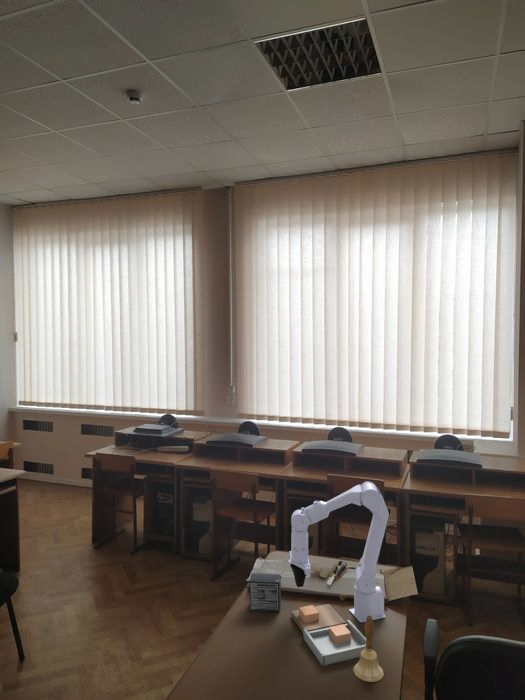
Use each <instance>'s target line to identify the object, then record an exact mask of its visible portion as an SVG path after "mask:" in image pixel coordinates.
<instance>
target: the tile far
mask: <svg viewBox="0 0 525 700" xmlns="http://www.w3.org/2000/svg"><path fill="white" fill-rule="evenodd" d="M298 610H299V616H300V617H301V618H302V620H303V621H304V622H305V623H308V622H313V621H317V620H319V612H318V611H317V609H316V608H315V606H314V604H310V605H305V606H301V607H300V606H299V607H298Z"/></svg>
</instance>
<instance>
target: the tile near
mask: <svg viewBox="0 0 525 700" xmlns="http://www.w3.org/2000/svg"><path fill="white" fill-rule="evenodd" d="M329 636H330V637H331V638H332V639H333V641H334V642H335V643H336V644H339V643H344V642H348V641H351V632H350V631H349V630H348V629H347V628H346V627H345V626H344V624H342V625H337V626H332V627H329Z"/></svg>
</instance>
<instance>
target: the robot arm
mask: <svg viewBox="0 0 525 700" xmlns="http://www.w3.org/2000/svg"><path fill="white" fill-rule="evenodd" d="M380 490H381V489H379V488H378V486H377V485H376V484H375V483H373V482H371V481H365V482H363V483H361V484H357V485H355V486H353V487H351V488H350V489H348V490H346V491H344V492H342V493H341V494H339V495H337V496H335V497H333V498H331V499H329V500H327V501H322V500H315V501H313V504H311V505H308V506H307V507H301V508H300V509H296V510H294V511H293V513H292V514H291V517H290V518H291V519H290V525H291V533H290V534H291V535H290V537H291V538H290V539H291V541H290V543H291V544H290V545H291V550H289V551H288V553H289V555H288V557H289V558H290V559H288V561H287V562H288V564H289V567H290V568H291V570H292V573H293V576H294V582H295V586H296V587H297V588H301V587H302V588H303V587H304V585H305V581H306V578H307V576H308V575H311V574H312V568H311V565H310V560H309V532H308V528H309V526H310V525H313V524H315V523H318V522H320V521H322V520H324V519H327V518H328V517H329V514H330V513H331V512H332V511H335V510H338V509H340V508H343V507H345V506H347V505H349V504H353V505H357V506H359V507H361V506H364V507H365V508H367V509H368V510H370V512H371V513H372V519H371V522H370V527H369V530H368V535H367V539H366V541H365V546H364V550H363V554H362V557H361V558H360V560H359V562H358V564H357V566H355V569H354V576H355V580H356V583H354V586H353V587H354V588H353V589H354V590H353V591H354V592H353V593H354V594H353V595H354V596H353V597H354V599H353V600H354V601H353V602H354V603H353V604H354V605H353V608H349V610H348V611H349V612H350V613H351V614H352V615H353V616H354V617H355V619H356V620H357V621H359V623H365V622H366V619H367V616H372V620H373V621H376V620H379V619H385V618H386V615H385V597H384V592H383V589H382V588H381V587H380V586H379V585H377V583H376V576H377V565H378V564H377V563H378V560H379V557H380V552H381V547H382V544H383V540H384V537H385V532H386V528H387V524H388V521H389V517H390V513H389V510H388V507H387V505H386V502H385V500H384V499H385V498H384V497H383V495H382V492H381V491H380ZM361 503H362V504H361Z"/></svg>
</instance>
